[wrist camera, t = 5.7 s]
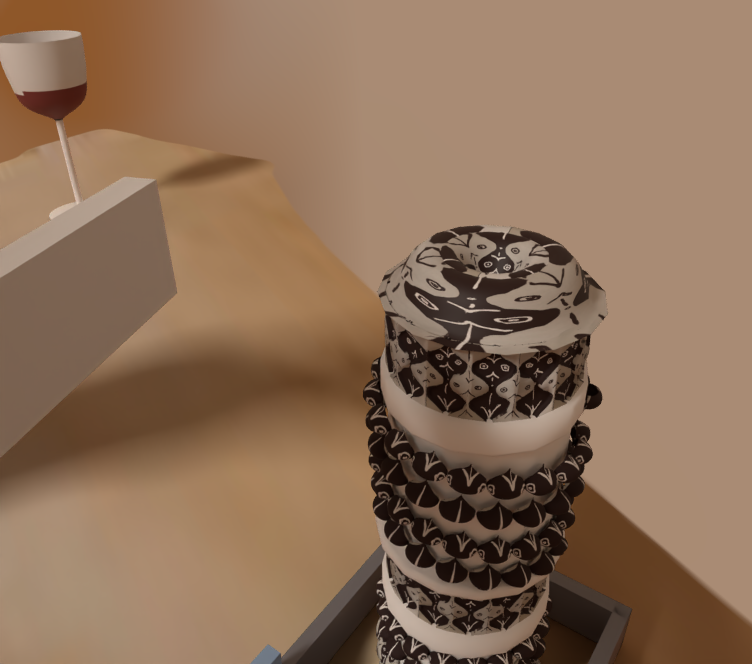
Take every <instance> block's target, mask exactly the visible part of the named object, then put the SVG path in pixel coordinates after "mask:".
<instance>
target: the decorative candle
mask: <svg viewBox="0 0 752 664" xmlns="http://www.w3.org/2000/svg"><path fill="white" fill-rule="evenodd" d="M377 292H378V295H379V297H380V300H381V303H382V305H383V308H384V311H385V349H384V351H383V354H382V356H381V357H379V358H377V359H376V360H374V362H373V363H372V366H371V373H372V376H373V377H374V379H373V380H371V381H370V382H369V383H368V384H367V385H366V386H365V388H364V390H363V398H364V400H365V401H366V402H367V403H368V404H369V405H371V406H373V407H372V408H371V409H370V410H369V412H368V413H367V415H366V426H367V427H368V428H369V430H371V431H373V433H372V434H371V435H370V437H369V440H368V448H369V451H370V456H369V464H370V466H371V467H372V468H373V469H374V470H375V471H376V472H375V473H374V474H373V476H372V479H371V486H372V489H373V490H374V491H375V493H376V494H377V496H376V497H375V499H374V501H373V510H374V513H375V515H376V523H377V527H378V532H379V536H380V540H381V544H382V548H383V549H384V551H385V555H384V558H383V562H382V576H381V577H380V578H379V579H378V581H377V584H376V591H377V594H378V595H379V596H380V597H381V598H380V599H379V601H378V603H377V612H378V614H379V616H380V619H379V621H378V623H377V627H376V635H377V638H378V643H377V655H378V657H379V659H380V661H379V664H541V663H540V661H539V660H538V659H537V658H539V657H541V656H542V654H543V653H544V651H545V642H544V640H543V639H542V638H543V637H545V636H546V635H547V633H548V631H549V628H550V623H549V621H548V619H547V618H546V615H548V614H549V613H550V611H551V609H552V600H551V597H550V595H549V574H550V573H551V572H553V571H554V568H555V564H556V562H557V561H558V559H559V557H560V555H562V554H563V552H564V551H565V550H566V549H567V547H568V543H567V541H566V539H565V529H566V528H569V527H570V526H572V524H573V523H574V521H575V515H574V512H573V511H572V509H571V505H572V504H573V501H574V497H576V496H578V495H580V494H581V493H582V492H583V490H584V488H585V483H584V480H583V479H582V478H581V477H580V475H581V474H582V473H583V471H584V464H585V463H587V462H589V461H590V460H591V458H592V456H593V452H592V449H591V447H590V445H589V444H588V443H587V441H588V440H589V438H590V429H589V427H588V426H587V425H586V424H585V423H583V422H581V421H578V418H579V417H580V415H581V414H582V413H583V411H584V409H594V408H596V407H598V406H599V405H600V404H601V401H602V393H601V391H600V389H599V388H598V387H597V386H595V385H593V384H590V379H589V376H588V375H587V360H586V358H587V356H588V353H589V345H590V335H591V334H592V333H593V332H594V330H595V329H596V328H597V327H598V325H599V324H600V323H601V322H602V320H603V319H604V318H605V317H606V316H607V314H608V312H607V303H606V294H605V291H604V290H603V289H602V288H601V287H600V286H599V285H598V284H597V283H596V282H595V280H593V278H592V277H591V276H590V275H589V274H588V273H587V272H586V271H584V270H582V268H581V266H580V265H579V263H578V262H577V260H576V259H575V258H574V257H573V256H572V255H571V254H570V253H569V252H568V251H567V250H566V249H565V248H564V246H562V245H561V244H560V243H558V242H556V241H554V240H552V239H550V238H547V237H546V236H543V235H541V234H539V233H536V232H532V231H527V230H524V229H519V228H515V227H506V226H494V225H478V226H466V227H458V228H454V229H450V230H447V231H443V232H440V233H437V234H435V235H433V236H432V237H430V238H429V239H427V240H426V241H424V242H423V243H421V244H420V245H418V246H417V247H416V248H415V249H414V250H413V251H412V252H411V254H410V255H409V257H407V258H406V259H404V260H403V261H402V262H400V263H399V264H397V265H396V266H394V267H393V268H391V269H390V270H388V271H387V272H386V274H385V276H384V278H383V280H382V282H381V285H380V287H379V289H378V291H377ZM386 406H387V410H388V418H387V416H386V412H385V408H386ZM583 408H584V409H583ZM570 435H571V437H572V442H571V440H570V439H569V438H570ZM574 446H575V447H574ZM563 483H565V485H563Z"/></svg>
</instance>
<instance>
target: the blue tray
mask: <svg viewBox="0 0 752 664" xmlns="http://www.w3.org/2000/svg"><path fill="white" fill-rule="evenodd" d="M250 664H282V661H281V653H280V652H278V651H277V650H275V649H274V648H273V647H271V646H270V645H267V646H266V647H265V648H264V649H263V650H262V651H261V653H260V654H259V655H258V656H257V657H256V658H255V659H254V660H253V661H252V662H251V663H250Z"/></svg>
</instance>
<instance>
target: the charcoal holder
mask: <svg viewBox="0 0 752 664" xmlns="http://www.w3.org/2000/svg"><path fill="white" fill-rule="evenodd" d="M384 555H385V551H384V549H383V548H382V544H381V545H380V546H379V547H378V548H377V549H376V551H375V552H374V553H373V554H372V555H371V556H370V557H369V559H368V560H367V561H366V562H365V563H364V564H363V565H362V567H361V568H360V569H359V570H358V571H357V572H356V573H355V575H354V576H353V577H352V578H351V579H350V580H349V581H348V582H347V584H346V585H345V586H344V587H343V588H342V589H341V590H340V592H339V593H338V594H337V595H336V596H335V597H334V598H333V600H332V601H331V602H330V603H329V604H328V605H327V606H326V608H325V609H324V610H323V611H322V612H321V613H320V614H319V615H318V617H317V618H316V619H315V620H314V621H313V622H312V623H311V625H310V626H309V627H308V628H307V629H306V630H305V631H304V633H303V634H302V635H301V636H300V637H299V638H298V639H297V641H296V642H295V643H294V644H293V645H292V646H291V647H290V649H289V650H288V651H287V652H286V653H285V654H284V655H283V656H282V658H281V661H282V664H327V663H328V662H329V661H330V660H331V658H332V657H333V656H334V655H335V654H336V652H337V651H338V650H339V649H340V647H341V646H342V645H343V644H344V642H345V641H346V640H347V639H348V638H349V636H350V635H351V634H352V633H353V631H354V630H355V629H356V628H357V626H358V625H359V624H360V623H361V622H362V620H363V619H364V618H365V617H366V615H367V614H368V613H369V612H370V610H371V609H372V608H373V607H374V606H375V604H376V603H377V602H378V601H379V599H380V598H381V597H380V596H379V595H378V594H377V591H376V584H377V581H378V579H379V578H380V577H381V576H382V562H383V558H384ZM549 595H550V597H551V600H552V609H551V611H550V613H549V614H548V615H546V616H548V617H549V618H551V619H553V620H555V621H557V622H559V623H561V624H563V625H564V626H566V627H568V628H570V629H572V630H574V631H576V632H578V633H579V634H581V635H583V636H585V637H587V638H589V639H591V640H593V641H594V642H596V643H598V644H597V646H596V648H595V650H594V652H593V654H592V656H591V658H590V660H589V663H588V664H613V663H614V661H615V658H616V656H617V654H618V651H619V649H620V647H621V645H622V642H623V639H624V635H625V632H626V628H627V625H628V622H629V618H630V615H631V611H632V609H631V608H629V607H627V606H625V605H623V604H621V603H619V602H617V601H615V600H613V599H611V598H609V597H607V596H605V595H603V594H601V593H599V592H597V591H595V590H593V589H591V588H589V587H587V586H585V585H583V584H581V583H579V582H577V581H575V580H573V579H571V578H569V577H567V576H565V575H563V574H561V573H559V572H557V571H555V570H554V571H553V572H551V573H550V574H549Z"/></svg>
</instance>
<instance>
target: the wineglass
mask: <svg viewBox="0 0 752 664" xmlns="http://www.w3.org/2000/svg"><path fill="white" fill-rule="evenodd" d="M0 61H1V64H2V66H3V69H4V71H5V74H6V76H7V78H8V80H9V82H10V84H11V86H12V88H13V90H14V92H15V94H16V96H17V98H18V99H19V101H20V102H21V103H22V104H23V105H24V106H25V107H27V108H28V109H29V110H31V111H33V112H36V113H38V114H41V115H44V116H47V117H50V118H53V119H54V120H56V124H57V128H58V132H59V136H60V140H61V144H62V148H63V152H64V156H65V160H66V164H67V168H68V172H69V176H70V180H71V184H72V187H73V191H74V195H75V199H76V202H73V203H69V204H66V205H63V206H60V207H58V208H56V209H55V210H53V211H52V212H51V213H50V214H49V218H50V219H51V220H52V219H53V218H55V217H57V216H58V215H60V214H62V213H64V212H65V211H67V210H69V209H70V208H72V207H74V206H75V205H77V204H79V203H81V202H82V201H83V200H82V196H81V192H80V188H79V184H78V180H77V176H76V172H75V168H74V164H73V160H72V156H71V152H70V148H69V144H68V140H67V136H66V132H65V128H64V123H63V118H64V117H65V116H67V115H68V114H69V113H71V112H72V111H74V110H75V109H76V108H77V107H78V106H79V105H80V104H81V103H82V102H83V100H84V99H85V96H86V91H87V81H86V62H85V55H84V48H83V41H82V36H81V33H79V32H76V31H64V30H62V31H61V30H60V31H59V30H57V31H56V30H55V31H35V32H25V33H17V34H10V35H5V36H1V37H0Z"/></svg>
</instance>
